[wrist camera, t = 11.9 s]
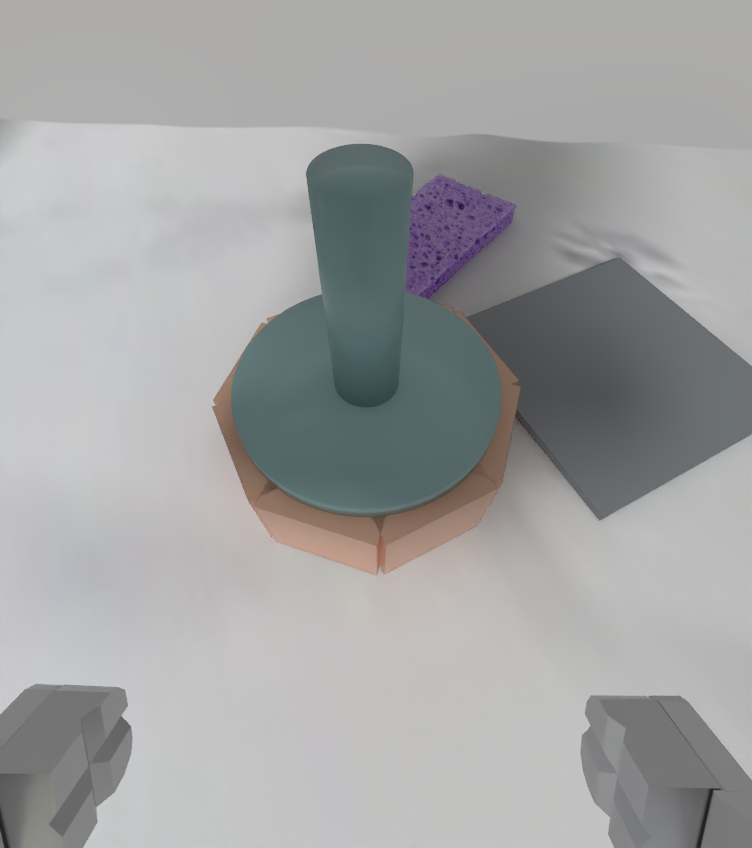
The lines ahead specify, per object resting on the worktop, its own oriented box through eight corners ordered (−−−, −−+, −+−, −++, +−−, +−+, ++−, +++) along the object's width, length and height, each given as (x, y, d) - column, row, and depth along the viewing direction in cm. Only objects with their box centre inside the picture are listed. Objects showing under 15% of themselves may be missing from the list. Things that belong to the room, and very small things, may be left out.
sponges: (510, 227, 35) (517, 204, 33) (412, 318, 30) (414, 297, 28) (436, 194, 37) (439, 171, 35) (334, 273, 32) (332, 251, 30)
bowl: (217, 398, 26) (188, 345, 22) (415, 322, 29) (420, 264, 25) (303, 617, 20) (284, 597, 16) (542, 490, 23) (576, 448, 19)
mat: (447, 330, 28) (448, 324, 28) (616, 263, 32) (619, 257, 31) (599, 520, 22) (603, 516, 21) (792, 410, 25) (799, 405, 25)
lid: (205, 350, 22) (94, 124, 13) (415, 276, 24) (436, 48, 16) (294, 570, 16) (202, 425, 8) (551, 442, 19) (693, 232, 10)
